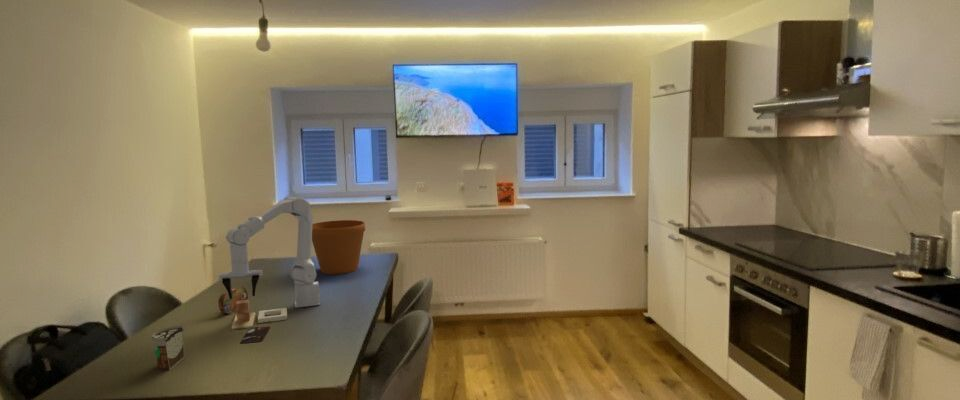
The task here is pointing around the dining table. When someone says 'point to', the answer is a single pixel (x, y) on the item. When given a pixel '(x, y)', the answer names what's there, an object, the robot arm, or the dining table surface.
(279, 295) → the dining table surface
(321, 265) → the flowerpot
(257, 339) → the smartphone
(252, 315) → the oak board
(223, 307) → the tin
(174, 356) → the food container
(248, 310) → the block
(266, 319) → the pocket plate
